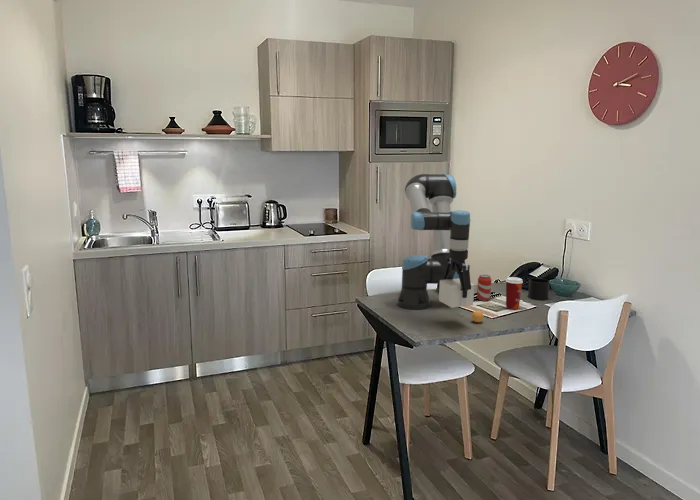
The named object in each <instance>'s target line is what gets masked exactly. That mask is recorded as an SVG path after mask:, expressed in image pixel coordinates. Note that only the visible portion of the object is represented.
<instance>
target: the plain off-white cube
mask: <svg viewBox="0 0 700 500" xmlns="http://www.w3.org/2000/svg"><path fill="white" fill-rule="evenodd" d="M460 289H462V288H461V284H460V279H448V280H440V286H439V292H438V293H439V294H438V301H439V302H441V303H443V304H445V305H446V306H448V307H449V308H452V309H453V308H459V307H460V308H461V307H469V306H474V299H475V298H474V296H475V284H474V283H472V282H471V289H470V290H467V300H466V305H461V306H460V305H459V304H460Z"/></svg>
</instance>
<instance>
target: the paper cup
mask: <svg viewBox="0 0 700 500" xmlns="http://www.w3.org/2000/svg"><path fill="white" fill-rule="evenodd" d="M523 283H524V282H523V279H522V278H520V277H517V276H515V277H514V276H509V277H507V278H506V279H505V286H506V287H505V307H506V309H508V310H516V311H517V310H519V309H520V308H519V307H520V301H521V294H522V287H523Z"/></svg>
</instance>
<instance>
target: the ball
mask: <svg viewBox="0 0 700 500" xmlns="http://www.w3.org/2000/svg"><path fill="white" fill-rule="evenodd" d="M484 318H485V315H484V313H483V311H482V310H474V311H473V312H472V314H471V319H472V321H473V322H474V323H481V322H482V321H483V320H484Z"/></svg>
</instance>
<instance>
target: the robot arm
mask: <svg viewBox="0 0 700 500" xmlns="http://www.w3.org/2000/svg"><path fill="white" fill-rule="evenodd" d="M404 193H405V194H404V195H405V196H406V198H407V200H408V201H409V204H410V207H411V209H412V212H411V215H410V228H411V229H412V230H415V231H432V232H433V233H432V234H433V253H432V254H431V256H430V258H429V256H428V255H425V254H414V255H413V254H412V255H409V256H406V257H405V258H403V260H402V266H401V270H402V272H401V273H402V274H401V290H400V292H399V294H398V297H397V304H396V305H397V306H399V307H400V308H403V309H407V310H425V309H427V308H430V305H431V300H430V296H429V293H428V290H427V289H428V284H429V285H431V284H433V285H435V284H436V285H437V284H440V280H448V279H460V284H461V288H462V289H460V304H459V305H460V306H461V305H466V300H467V290H470V289H471V283H472V282H471V276H470V275H471V274H470V268H471V265H470V264H466V260H467V259H468V258H469V257H468V255H469V242H470V241H469V239H470V238H469V237H470V227H471V213H470V212H469V211H467V210H453V211H452V210H451V204H452V203H453V202H454V199H455V198H456V197H457V183H456V179H455V178H454V176H453V175H451V174H445V173H442V174H438V173H436V174H434V173H432V174H431V173H421V174H417V175H414V176H413V177H411V178H410V179H409V180H408V181H407V183H406V185H405V187H404ZM429 204H430V205H431V207H432V210H431V209H430V205H429Z"/></svg>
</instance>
